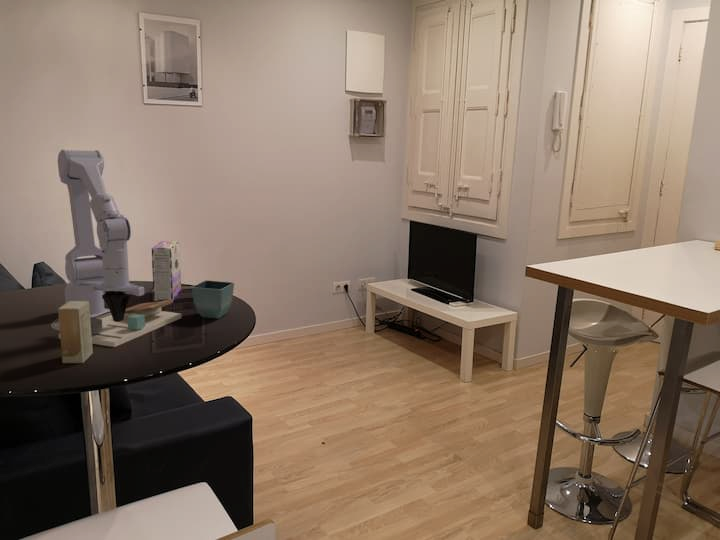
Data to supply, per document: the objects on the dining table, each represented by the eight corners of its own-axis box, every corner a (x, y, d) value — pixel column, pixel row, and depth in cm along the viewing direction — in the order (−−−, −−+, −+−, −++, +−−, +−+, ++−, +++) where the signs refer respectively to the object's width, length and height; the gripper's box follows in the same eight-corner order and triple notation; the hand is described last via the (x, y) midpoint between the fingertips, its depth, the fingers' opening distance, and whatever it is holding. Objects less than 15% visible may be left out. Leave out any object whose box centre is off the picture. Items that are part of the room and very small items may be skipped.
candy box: (163, 290, 187) (161, 240, 184) (181, 290, 188) (180, 240, 185) (152, 301, 174) (150, 247, 170) (173, 301, 174) (171, 247, 171)
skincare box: (73, 353, 129) (69, 300, 126) (93, 353, 129) (90, 300, 126) (61, 364, 122) (56, 308, 120) (82, 363, 123) (78, 308, 120)
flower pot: (222, 321, 155) (221, 289, 153) (191, 319, 157) (190, 286, 155) (235, 313, 164) (234, 282, 162) (206, 310, 165) (205, 280, 164)
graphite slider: (84, 333, 138) (83, 321, 137) (93, 330, 140) (92, 318, 140) (94, 334, 137) (93, 322, 136) (102, 331, 139) (101, 319, 139)
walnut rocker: (117, 314, 151) (116, 311, 151) (140, 306, 159) (139, 303, 159) (151, 310, 147) (151, 307, 147) (173, 302, 156) (172, 299, 156)
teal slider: (128, 328, 142) (127, 316, 141) (135, 325, 145) (135, 313, 144) (137, 329, 141) (137, 317, 141) (145, 326, 144) (144, 315, 143)
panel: (59, 338, 138) (58, 325, 137) (132, 311, 162) (131, 300, 162) (114, 347, 133) (113, 333, 133) (181, 317, 158) (181, 306, 157)
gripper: (79, 267, 140) (83, 321, 143) (129, 273, 136) (132, 328, 138) (100, 262, 147) (103, 314, 149) (148, 267, 142) (151, 320, 145)
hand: (118, 320), depth 144 cm, fingers closed
